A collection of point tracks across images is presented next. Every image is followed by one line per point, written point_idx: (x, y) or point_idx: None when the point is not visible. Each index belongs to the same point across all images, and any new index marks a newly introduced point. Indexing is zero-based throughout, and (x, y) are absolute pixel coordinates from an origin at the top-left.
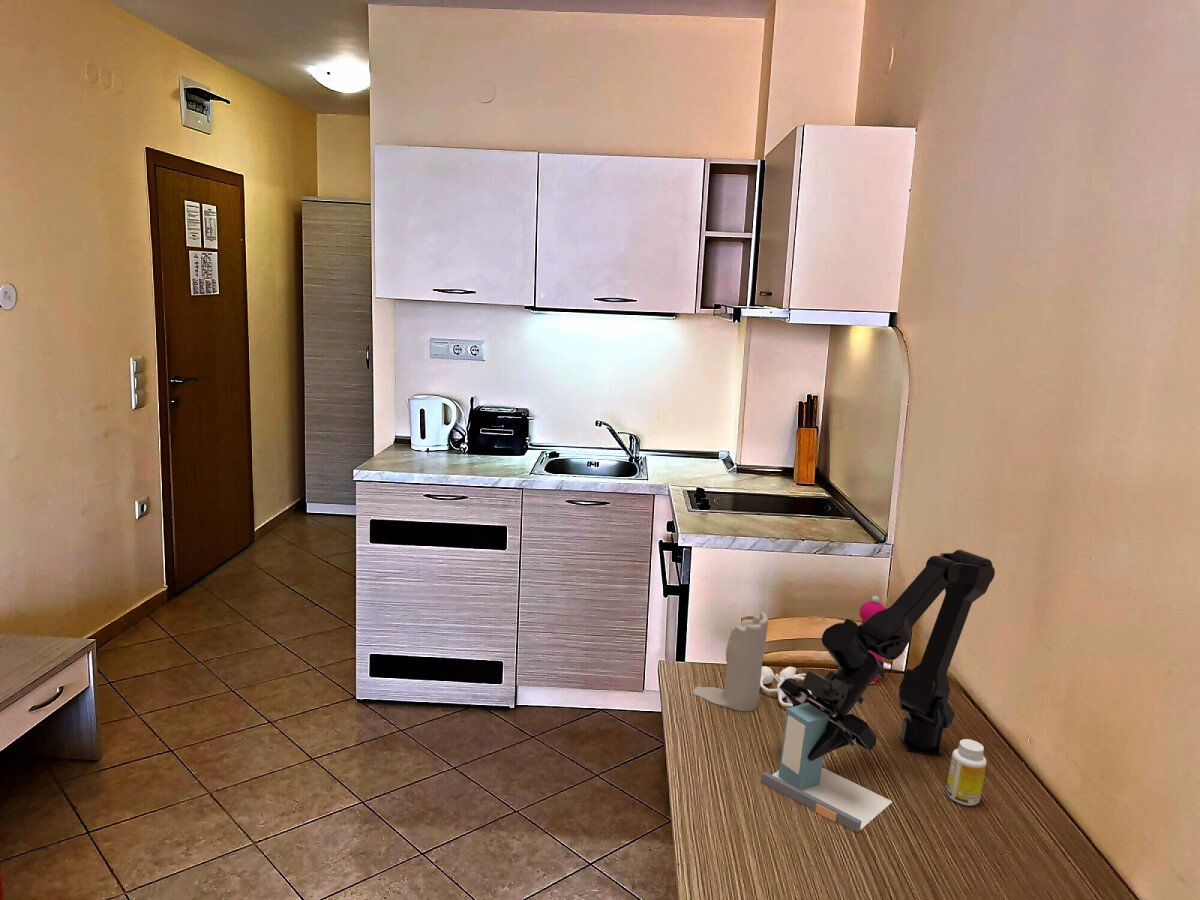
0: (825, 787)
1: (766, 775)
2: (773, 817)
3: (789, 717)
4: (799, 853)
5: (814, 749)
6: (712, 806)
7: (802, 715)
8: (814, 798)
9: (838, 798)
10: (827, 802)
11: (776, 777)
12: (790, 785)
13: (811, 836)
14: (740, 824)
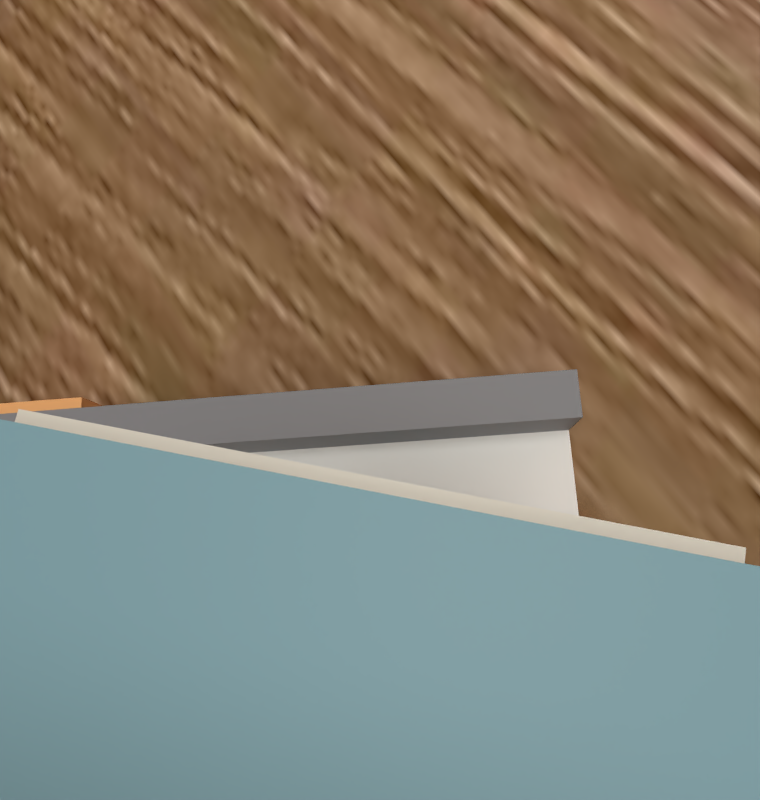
0: None
1: (538, 380)
2: (303, 217)
3: (655, 537)
4: (37, 88)
5: None
6: (595, 8)
7: (167, 635)
8: None
9: None
10: None
11: (469, 423)
12: (331, 425)
13: (60, 255)
14: (382, 18)
